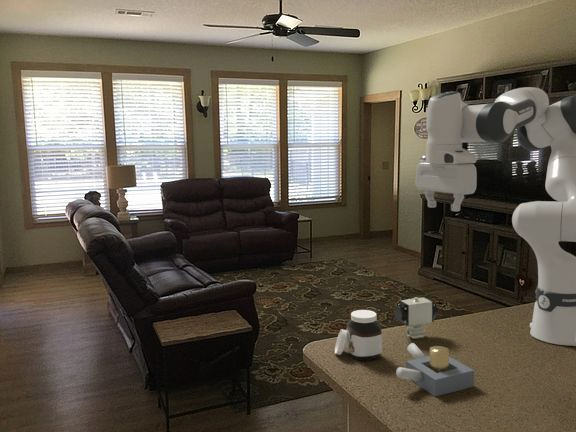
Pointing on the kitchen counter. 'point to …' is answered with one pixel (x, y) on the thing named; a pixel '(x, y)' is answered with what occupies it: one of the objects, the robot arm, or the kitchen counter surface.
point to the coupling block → (436, 374)
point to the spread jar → (361, 336)
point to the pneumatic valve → (416, 315)
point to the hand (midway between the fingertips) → (443, 209)
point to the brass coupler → (439, 359)
